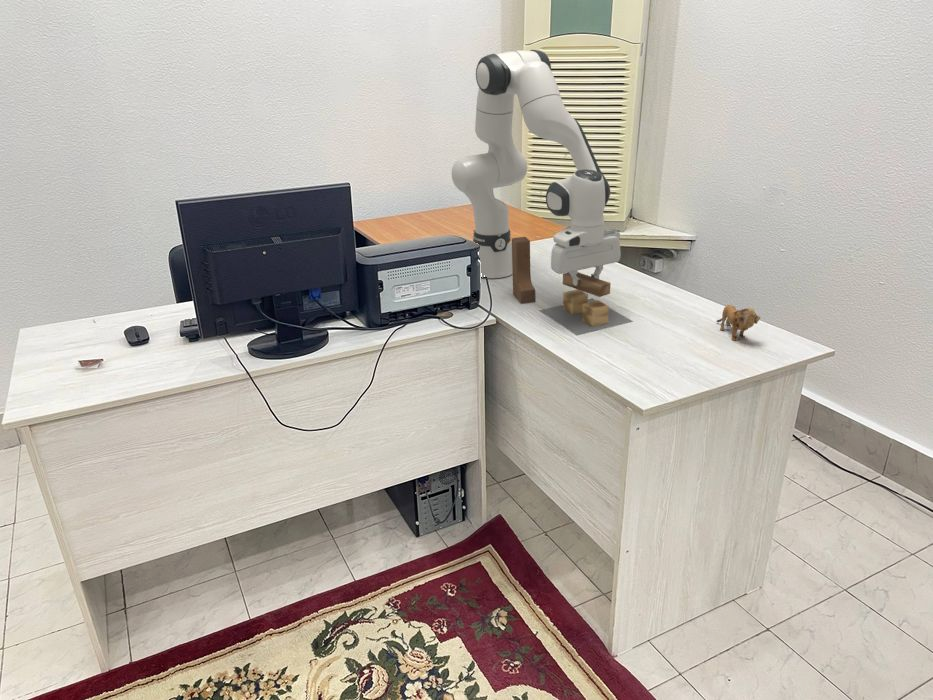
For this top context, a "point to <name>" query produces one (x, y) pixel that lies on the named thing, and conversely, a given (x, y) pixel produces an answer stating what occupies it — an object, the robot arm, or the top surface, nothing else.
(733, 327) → the lion figurine
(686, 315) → the top surface
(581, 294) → the cube
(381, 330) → the top surface
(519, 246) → the wooden block
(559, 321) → the mat
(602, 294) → the lintel
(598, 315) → the cube
